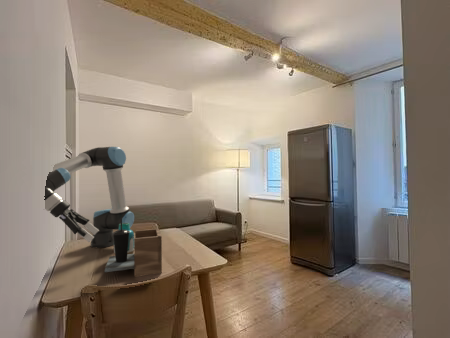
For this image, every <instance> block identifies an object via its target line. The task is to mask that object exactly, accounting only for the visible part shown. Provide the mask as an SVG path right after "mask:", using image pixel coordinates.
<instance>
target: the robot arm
mask: <svg viewBox="0 0 450 338" xmlns="http://www.w3.org/2000/svg"><path fill="white" fill-rule="evenodd" d="M126 161H127V156H126V153H125V151H124V150H123V149H122V148H121V147H119V146H105V147H103V146H101V147H100V146H99V147H95V148H91V149H87V150H86V151H83V152H80V153H79V154H77V156H74V157H72V158H68V159H65V160H63V161H60V162H57V163H54V164H55V165H54V164H53V165H54V167H53V171H52V172H49V174H48V176H47V180H46V186H45V196H44V197H45V199H44V200H45V209H44V210H45V211H47V212H49V213H50V214H51V216H53V217H54V218H59V219H60V220H61V221H62V222H63V223H64V224H65V225H66V226H67V227H68V228H69V230H70V231H71V232H72V233H73V234H74V235H76V234H77V235H79V236H80V237H82V239H84V240H85V241H87V242H88V243H90V247H91V246H92V247H91V248H93V247H97V248H96V249H100V248H107V247H112V246H114V237H113V232H114V230H116V231H117V230H119V224H121V219H122V223H129V226H130V229H131V227H132V226H133V224H134V223H135V214H134V212H132V211H131V210H130V207H129V206H127V201H126V195H125V188H124V181H123V175H122V170H123V168H124V164H126ZM97 166H98V167H102V171H104V172H105V173H106V180H107V185H108V191H109V193H108V194H109V198H110V205H111V206H110V207H111V208H107V209H101V210H96V211H95V212H94V213H93V218H92V220H93V221H92V222H93V224H92V223H91V222H90V219H89V218H86V217H85V216H83V215H81V214H80V213H78V212H76V211H75V210H74V208H73V209H72V208H71V209H69V208H70V206H71V204H70V203H68V202H67V201H66V200H64V198H63V197H62V196H60V195H59V194H58V193H57V192H55V191H56V190H58V189H59V188H61V187H62V186H64V185H66V184H67V183H68V182H69V181H71V174H72V173H74V172H77V171H79V170H82V169H88V168H91V167H97ZM80 225H83V227H81V226H80ZM86 229H87V230H88V231H89V232H88V231H87V230H86ZM92 234H93V235H92Z"/></svg>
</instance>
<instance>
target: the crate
mask: <svg viewBox="0 0 450 338" xmlns="http://www.w3.org/2000/svg"><path fill="white" fill-rule="evenodd" d="M162 249H163V248H162V234H161V231H160V228H150V229H138V230H135V231H134V253H133V254H127V261H125V262H121V263H118V262H116V257H115V255H112V256H111V255H110V256H109V257H108V260H107V263H106V265H105V268H104V273H108V272H117V271H125V270H132V269H133V270H134V277H135V278H136V277H142V276H150V275H156V274H157V275H158V274H163V273H162V271H163V269H162V268H163V263H162V261H163V260H162V259H163V258H162V257H163V255H162V254H163V253H162Z"/></svg>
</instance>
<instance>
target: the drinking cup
mask: <svg viewBox="0 0 450 338" xmlns="http://www.w3.org/2000/svg"><path fill="white" fill-rule="evenodd" d="M129 233H130V231H127V230H124V229H122V219H121V230H116V231H113V237H114V245H113V248H114V247H115V254H114V256H115V257H116V262H118V263H121V262H125V261H127V253H128V241H129Z"/></svg>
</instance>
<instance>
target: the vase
mask: <svg viewBox="0 0 450 338" xmlns="http://www.w3.org/2000/svg"><path fill="white" fill-rule="evenodd" d="M122 229H124V230H127V231H130V233H129V241H128V253H127V254H134V238H135V231H133V229H131V228H130V226H129V223H122ZM119 230H121V224H119ZM113 253H114V255H115V247H114V246H113Z"/></svg>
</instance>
